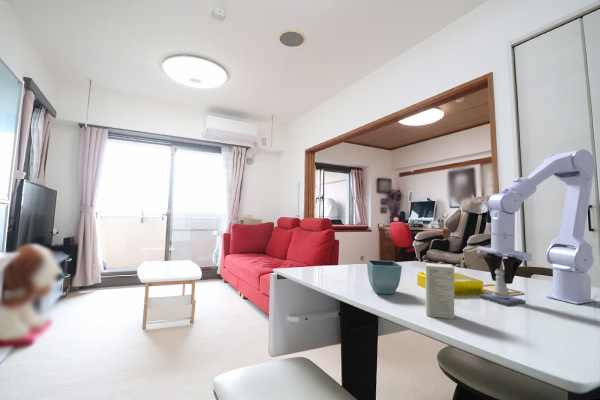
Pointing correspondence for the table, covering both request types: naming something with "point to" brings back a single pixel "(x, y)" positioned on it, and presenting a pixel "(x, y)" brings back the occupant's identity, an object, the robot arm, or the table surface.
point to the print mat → (490, 287)
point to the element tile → (458, 284)
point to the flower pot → (384, 276)
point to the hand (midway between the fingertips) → (502, 281)
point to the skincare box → (440, 290)
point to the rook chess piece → (500, 285)
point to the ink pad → (503, 300)
